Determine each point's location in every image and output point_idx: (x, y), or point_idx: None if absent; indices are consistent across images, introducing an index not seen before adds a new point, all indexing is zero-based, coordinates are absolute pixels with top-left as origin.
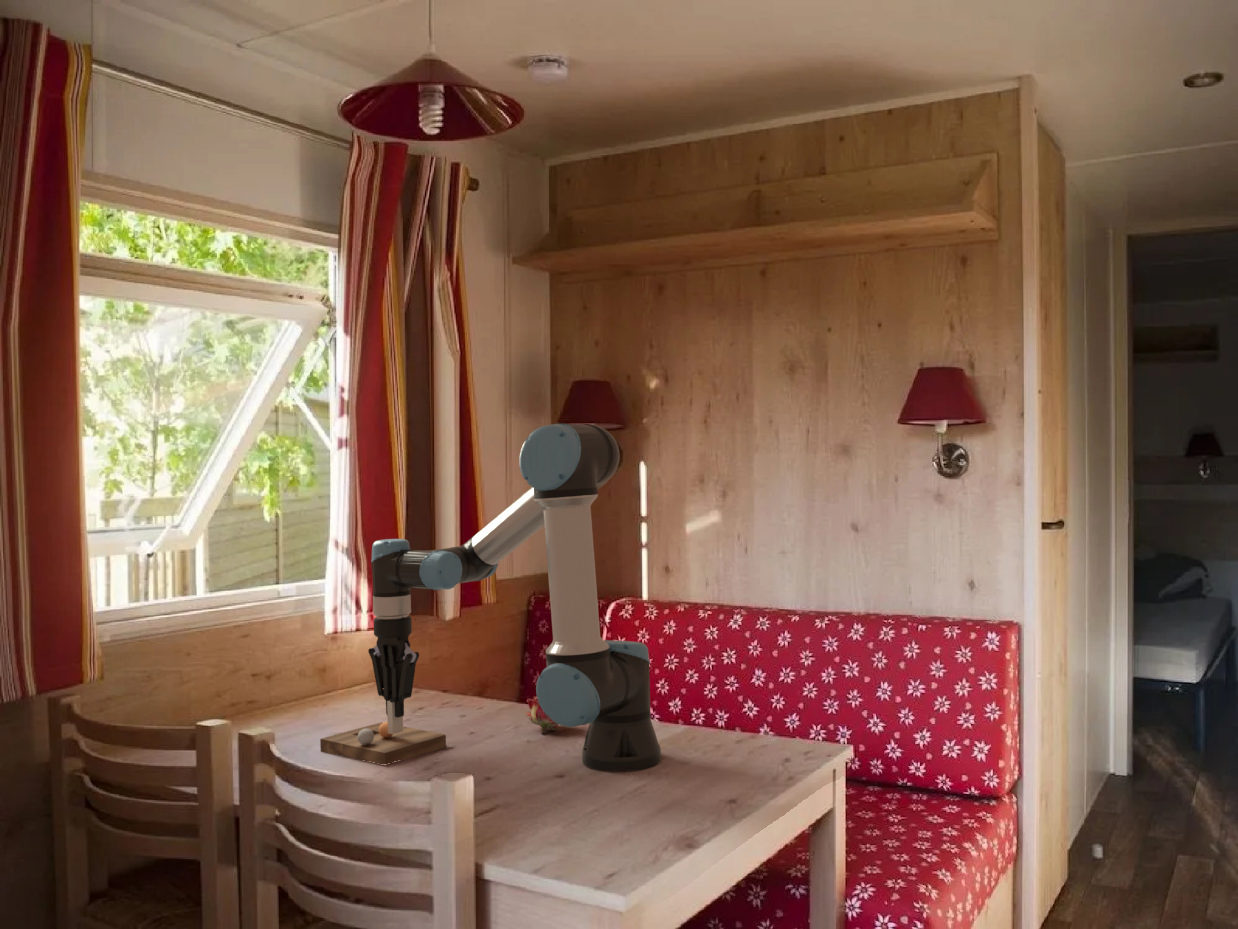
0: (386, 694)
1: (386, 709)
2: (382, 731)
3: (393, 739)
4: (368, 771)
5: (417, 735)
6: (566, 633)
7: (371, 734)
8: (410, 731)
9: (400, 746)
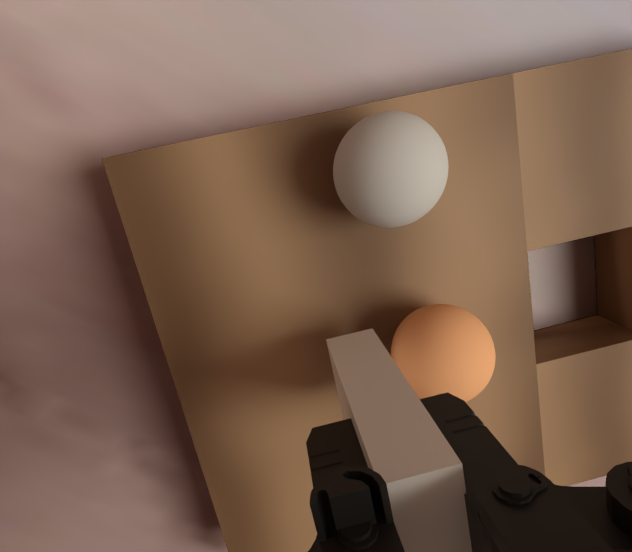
0: (523, 524)
1: (470, 418)
2: (420, 314)
3: None
4: (85, 31)
5: None
6: None
7: (344, 191)
8: None
9: (181, 304)
